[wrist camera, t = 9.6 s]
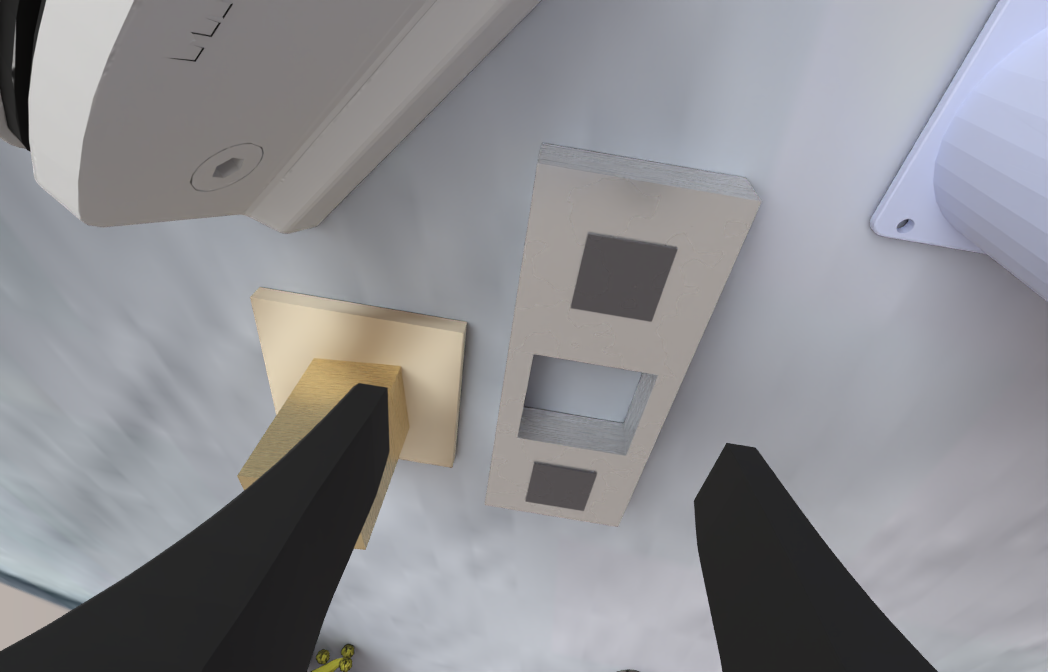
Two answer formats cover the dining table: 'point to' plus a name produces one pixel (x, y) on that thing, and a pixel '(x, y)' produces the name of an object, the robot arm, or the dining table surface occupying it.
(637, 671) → the phone
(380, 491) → the brass peg
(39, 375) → the dining table surface
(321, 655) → the decorative flower
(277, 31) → the grey rounded upright block
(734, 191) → the grey peg hole board
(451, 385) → the birch pad
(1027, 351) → the dining table surface
